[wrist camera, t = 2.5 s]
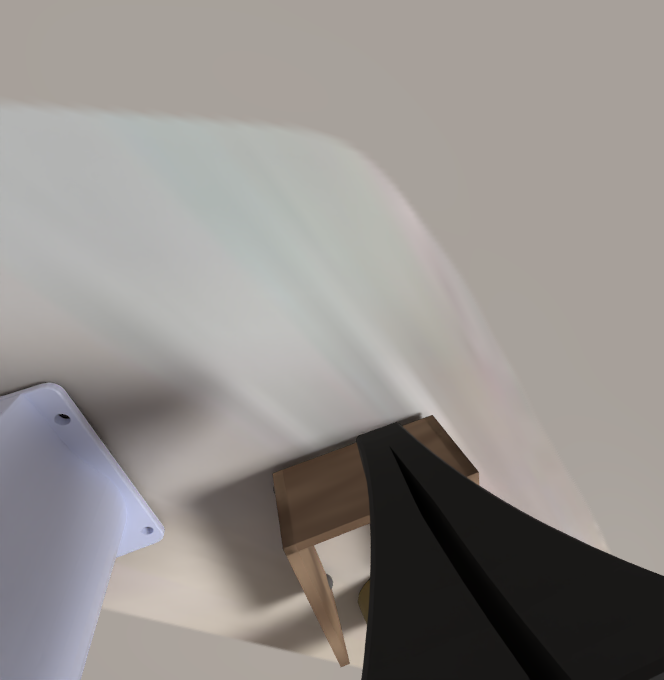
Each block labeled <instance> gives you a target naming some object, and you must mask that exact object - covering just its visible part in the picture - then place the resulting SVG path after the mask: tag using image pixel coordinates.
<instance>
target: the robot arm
mask: <svg viewBox="0 0 664 680" xmlns="http://www.w3.org/2000/svg"><path fill="white" fill-rule="evenodd" d="M59 414H65V415H67V416H69V417H70V419H64V418H62V417H60V416H59ZM356 442H357V446H358V450H359V454H360V458H361V461H362V465H363V469H364V473H365V477H366V480H367V488H368V496H369V510H370V530H371V569H370V592H369V609H368V621H367V632H366V642H365V653H364V663H363V671H362V679H361V680H664V576H662V575H659V574H657V573H654V572H652V571H649V570H647V569H644V568H641V567H639V566H637V565H634V564H632V563H629V562H627V561H624V560H622V559H619V558H617V557H615V556H613V555H611V554H608V553H606V552H604V551H601V550H599V549H597V548H594V547H592V546H590V545H588V544H586V543H584V542H582V541H580V540H577V539H575V538H573V537H571V536H569V535H567V534H565V533H563V532H561V531H559V530H557V529H555V528H553V527H551V526H548V525H546V524H544V523H542V522H541V521H539V520H537V519H535V518H533V517H531V516H529V515H528V514H526V513H524V512H522V511H520V510H518V509H517V508H515V507H513V506H512V505H510V504H508V503H506V502H505V501H503V500H501V499H500V498H498V497H496V496H495V495H493V494H492V493H490V492H488V491H487V490H485V489H484V488H482V487H481V486H479V485H478V484H476V483H475V482H473V481H472V480H470V479H469V478H467V477H466V476H464V475H463V474H461V473H460V472H459V471H457V470H456V469H454V468H453V467H452V466H450V465H449V464H448V463H446V462H445V461H444V460H442V459H441V458H440V457H438V456H437V455H436V454H434V453H433V452H432V451H431V450H429V449H428V448H427V447H426V446H425V445H423V444H422V443H421V442H420V441H418V440H417V439H416V438H415V437H414V436H413V435H412V434H410V433H409V432H408V431H407V430H406V429H405V428H404V427H403V426H402V425H401V424H399V423H397V422H396V423H393V424H390V425H387V426H385V427H382V428H379V429H376V430H373V431H371V432H368V433H365V434H362V435H359V436H358V438H357V439H356ZM164 531H165V529H164V526H163V525H162V524H161V522H160V521H159V520H158V518H157V517H156V515H155V514H154V513H153V511H152V510H151V508H150V507H149V506H148V504H147V503H146V502H145V500H144V499H143V497H142V496H141V495H140V493H139V492H138V490H137V489H136V488H135V486H134V485H133V484H132V482H131V481H130V479H129V478H128V477H127V475H126V474H125V472H124V471H123V470H122V468H121V467H120V466H119V464H118V463H117V461H116V460H115V459H114V457H113V456H112V454H111V453H110V452H109V450H108V449H107V448H106V446H105V445H104V443H103V442H102V441H101V439H100V438H99V437H98V435H97V434H96V432H95V431H94V430H93V428H92V427H91V425H90V424H89V423H88V421H87V420H86V419H85V417H84V416H83V414H82V413H81V412H80V410H79V409H78V407H77V406H76V405H75V403H74V402H73V401H72V399H71V398H70V396H69V395H68V394H67V392H66V391H65V390H64V389H63V388H62V387H61V386H60V385H57V384H55V383H43V384H39V385H36V386H33V387H30V388H26V389H23V390H20V391H17V392H14V393H10V394H7V395H4V396H1V397H0V680H81V676H82V673H83V669H84V666H85V662H86V659H87V655H88V652H89V648H90V645H91V641H92V638H93V635H94V631H95V628H96V624H97V621H98V617H99V614H100V610H101V607H102V604H103V600H104V597H105V593H106V590H107V586H108V583H109V579H110V576H111V572H112V569H113V566H114V562H115V559H116V558H117V557H119V556H122V555H125V554H127V553H130V552H133V551H135V550H138V549H141V548H143V547H146V546H149V545H151V544H154V543H157V542H158V541H160V540H161V539H162V538H163V536H164Z"/></svg>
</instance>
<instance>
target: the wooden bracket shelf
mask: <svg viewBox="0 0 664 680" xmlns="http://www.w3.org/2000/svg"><path fill="white" fill-rule="evenodd" d="M403 427H404V428H405V429H406V430H407V431H408V432H409V433H410V434H412V435H413V436H414V437H415V438H416V439H417V440H418V441H420V442H421V443H422V444H423V445H425V446H426V447H427V448H428V449H429V450H431V451H432V452H433V453H434V454H436V455H437V456H438V457H440V458H441V459H442V460H444V461H445V462H446V463H448V464H449V465H450V466H452V467H453V468H454V469H456V470H457V471H459V472H460V473H461V474H463V475H464V476H466V477H467V478H469V479H470V480H472V481H473V482H475V483H476V484H478V485H479V472H478V471H477V469H476V468H475V467H474V466H473V464H472V463H471V462H470V461H469V460H468V458H467V457H466V456H465V455H464V453H463V452H462V451H461V450H460V448H459V447H458V446H457V445H456V443H455V442H454V441H453V440H452V439H451V437H450V436H449V435H448V434H447V432H446V431H445V430H444V429H443V427H442V426H441V425H440V424H439V422H438V421H437V420H436V419H435V418H434V416H433V415H431V416H428V417H425V418H423V419H420V420H417V421H415V422H412V423H409V424H406V425H404V426H403ZM273 481H274V487H273V489H274V493H275V495H276V502H277V509H278V517H279V524H280V531H281V538H282V545H283V550H284V552H285V554H286V556H287V558H288V560H289V562H290V564H291V566H292V568H293V570H294V572H295V574H296V576H297V578H298V580H299V583H300V585H301V587H302V589H303V591H304V593H305V595H306V597H307V599H308V601H309V603H310V605H311V607H312V609H313V611H314V613H315V615H316V617H317V619H318V621H319V623H320V625H321V627H322V629H323V632H324V634H325V636H326V638H327V640H328V642H329V644H330V646H331V648H332V650H333V652H334V654H335V656H336V658H337V660H338V662H339V664H340V666H341V667H343V666H345V665H347V664H350V662H349V658H348V654H347V650H346V646H345V642H344V638H343V633H342V629H341V625H340V621H339V617H338V613H337V609H336V604H335V600H334V596H333V592H332V586H333V581H332V578H331V577H330V576H329V575H328V574H326V573H325V571H324V569H323V566H322V564H321V561H320V559H319V557H318V554H317V552H316V549H315V547H314V545H316V544H318V543H321V542H323V541H326V540H328V539H331V538H334V537H336V536H339V535H341V534H344V533H346V532H349V531H351V530H354V529H356V528H359V527H361V526H364V525H366V524H369V523H370V510H369V496H368V488H367V480H366V477H365V473H364V469H363V465H362V461H361V458H360V454H359V450H358V446H357V443H354V444H352V445H349V446H346V447H343V448H341V449H338V450H335V451H332V452H330V453H327V454H324V455H321V456H319V457H316V458H313V459H311V460H308V461H305V462H302V463H300V464H297V465H294V466H291V467H289V468H286V469H283V470H280V471H278V472H275V473H273Z"/></svg>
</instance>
